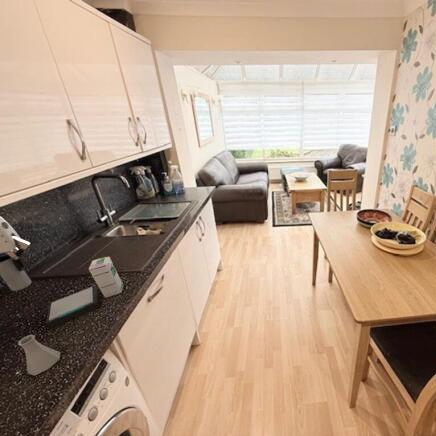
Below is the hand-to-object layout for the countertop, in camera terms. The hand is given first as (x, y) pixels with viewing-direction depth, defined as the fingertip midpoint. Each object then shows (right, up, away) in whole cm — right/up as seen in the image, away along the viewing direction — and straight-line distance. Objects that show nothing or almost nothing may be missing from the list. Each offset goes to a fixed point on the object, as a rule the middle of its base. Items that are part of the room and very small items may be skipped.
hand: (11, 271), depth 72 cm
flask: (+13, -26, -3) cm, 30 cm away
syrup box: (+14, -13, +24) cm, 30 cm away
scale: (+5, -17, +16) cm, 24 cm away
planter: (0, -5, +3) cm, 6 cm away
